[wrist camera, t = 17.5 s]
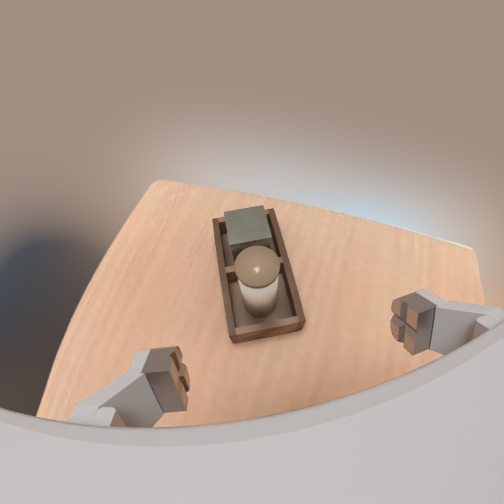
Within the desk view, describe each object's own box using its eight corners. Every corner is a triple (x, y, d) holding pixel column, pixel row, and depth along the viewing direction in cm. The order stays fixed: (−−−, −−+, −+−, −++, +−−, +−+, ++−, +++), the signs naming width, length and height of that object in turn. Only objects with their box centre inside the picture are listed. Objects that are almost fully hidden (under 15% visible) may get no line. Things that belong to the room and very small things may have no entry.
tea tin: (234, 269, 47) (229, 245, 41) (229, 239, 51) (223, 212, 44) (271, 263, 48) (272, 237, 41) (263, 233, 51) (263, 205, 44)
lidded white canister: (246, 321, 43) (238, 289, 32) (240, 290, 45) (231, 250, 34) (280, 314, 43) (284, 280, 32) (273, 284, 46) (274, 241, 35)
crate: (233, 343, 42) (229, 335, 38) (216, 235, 53) (212, 219, 49) (301, 329, 43) (305, 320, 38) (273, 225, 54) (273, 208, 49)
